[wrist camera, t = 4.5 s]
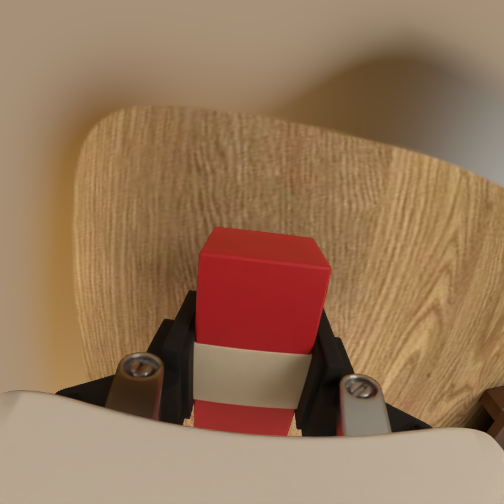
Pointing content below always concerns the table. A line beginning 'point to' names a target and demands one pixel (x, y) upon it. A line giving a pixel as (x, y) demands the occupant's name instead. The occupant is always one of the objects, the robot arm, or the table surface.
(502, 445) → the step rack
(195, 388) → the rectangular block
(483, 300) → the table surface
